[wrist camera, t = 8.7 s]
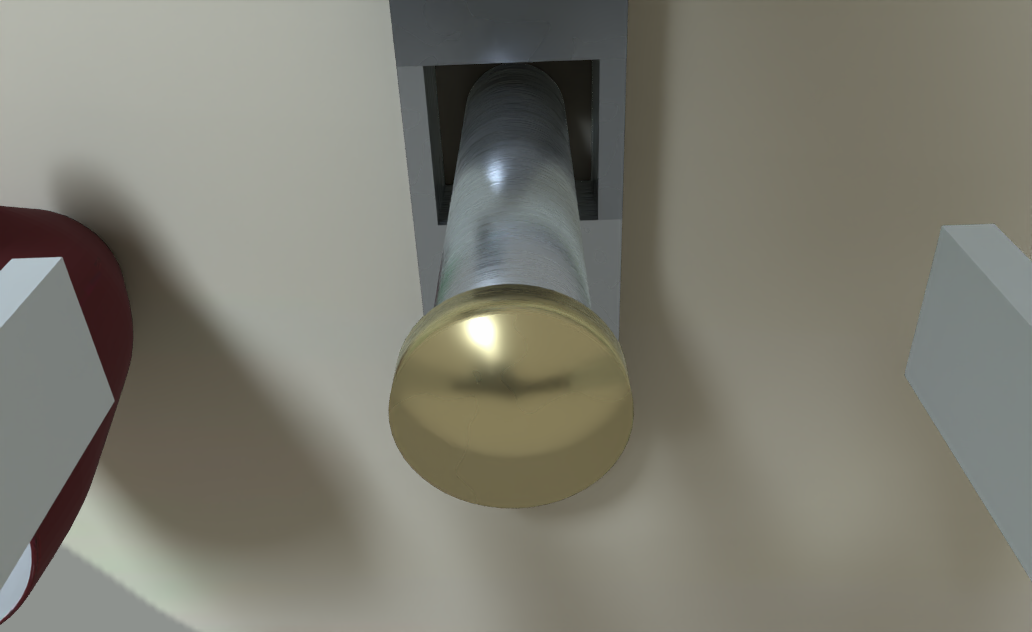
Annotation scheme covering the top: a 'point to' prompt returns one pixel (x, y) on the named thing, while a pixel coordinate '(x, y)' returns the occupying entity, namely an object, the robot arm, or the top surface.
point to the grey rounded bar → (507, 39)
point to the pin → (512, 319)
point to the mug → (112, 334)
